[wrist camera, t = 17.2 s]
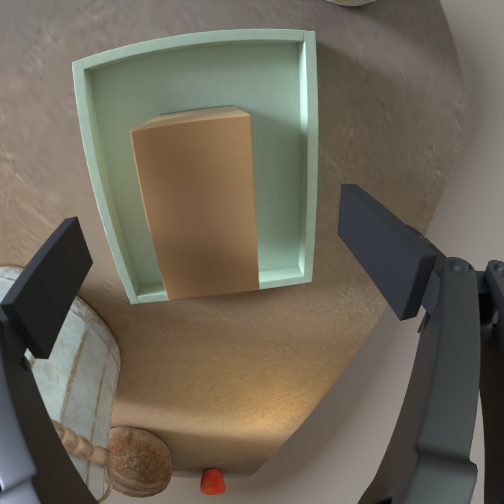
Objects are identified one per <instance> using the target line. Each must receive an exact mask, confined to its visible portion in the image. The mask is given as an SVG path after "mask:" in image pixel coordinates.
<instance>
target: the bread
mask: <svg viewBox="0 0 504 504" xmlns="http://www.w3.org/2000/svg"><path fill="white" fill-rule="evenodd" d="M108 450H110V451H111V452H112V455H113V462H112V464H111V466H110V468H111V471H112V475H113V487H112V489H114V490H116V491H118V492H120V493H122V494H125V495H128V496H130V497H148V496H154V495H156V494H158V493H160V492H162V491H163V490H164V489H166V487H167V485H168V484H169V482H170V479H171V475H172V460H171V455H170V451H169V449H168V447H167V446H166V444H165V443H164V442H163V441H162V440H160V439H159V438H157V437H156V436H154V435H153V434H151V433H149V432H147V431H145V430H142V429H138V428H133V427H125V426H121V427H115V428H112V429H110V432H109V441H108ZM105 482H106V483H107V484H108V485H109V474H108V471H107V469H106V477H105Z"/></svg>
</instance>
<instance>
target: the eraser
mask: <svg viewBox="0 0 504 504" xmlns="http://www.w3.org/2000/svg"><path fill="white" fill-rule="evenodd" d="M130 133H131V140H132V146H133V152H134V158H135V163H136V169H137V174H138V180H139V185H140V190H141V195H142V199H143V204H144V209H145V213H146V218H147V222H148V226H149V231H150V235H151V239H152V243H153V247H154V251H155V255H156V258H157V262H158V266H159V270H160V273H161V277H162V280H163V284H164V287H165V291H166V294H167V298H168V300H177V299H186V298H195V297H204V296H213V295H221V294H230V293H238V292H245V291H253V290H259V267H258V246H257V226H256V206H255V186H254V167H253V148H252V129H251V116H250V115H249V114H248V113H246V112H244V111H243V110H241V109H239V108H238V107H236V106H234V105H228V106H217V107H207V108H199V109H191V110H183V111H177V112H170V113H164V114H160V115H158V116H156V117H154V118H152V119H151V120H149V121H147V122H145V123H143V124H142V125H140V126H138V127H136V128H135V129H133V130H131V132H130Z"/></svg>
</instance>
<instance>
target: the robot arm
mask: <svg viewBox="0 0 504 504" xmlns="http://www.w3.org/2000/svg"><path fill="white" fill-rule="evenodd" d="M338 235H339V236H340V238H341V239H342V240H343V241H344V243H345V244H346V245H347V247H348V248H349V249H350V251H351V252H352V253H353V255H354V256H355V257H356V259H357V260H358V261H359V263H360V264H361V265H362V267H363V268H364V270H365V271H366V272H367V274H368V275H369V276H370V278H371V279H372V281H373V282H374V283H375V285H376V286H377V288H378V289H379V290H380V292H381V293H382V295H383V296H384V298H385V299H386V301H387V302H388V303H389V305H390V306H391V308H392V309H393V311H394V312H395V313H396V315H397V317H398V318H399V320H400V321H402V320H406V319H409V318H413V317H416V316H417V313H418V311H419V308H420V306H421V304H422V306H423V307H424V308H425V309H426V313H425V316H424V317H423V320H422V322H421V325H420V327H419V329H418V331H417V332H418V333H420V331H421V333H420V339H419V343H418V348H417V352H416V358H415V361H414V365H413V369H412V374H411V377H410V381H409V384H408V388H407V392H406V395H405V398H404V402H403V405H402V408H401V411H400V414H399V417H398V420H397V423H396V426H395V429H394V432H393V434H392V437H391V440H390V442H389V445H388V447H387V450H386V452H385V455H384V457H383V460H382V462H381V464H380V467H379V469H378V471H377V473H376V475H375V477H374V479H373V481H372V483H371V484H370V485H369V487H368V488H367V489H366V491H365V492H364V494H363V495H362V497H361V499H360V500H359V502H358V504H470V502H471V498H472V495H473V492H474V488H475V484H476V480H477V472H478V470H477V466H476V464H474V463H473V462H471V461H470V459H469V456H470V449H471V444H472V439H473V433H474V426H475V420H476V413H477V404H478V393H479V390H480V398H481V406H482V415H483V427H484V445H485V477H484V478H485V479H484V504H504V263H503V262H502V261H497V260H491V261H489V263H488V265H487V268H486V270H485V271H475V270H474V268H473V267H472V265H471V264H469V263H468V262H467V261H465V260H462V259H460V258H456V257H449V258H447V257H446V256H445V255H444V254H443V253H442V252H441V251H440V250H438V249H437V248H436V247H435V246H434V245H433V244H432V243H430V241H429V240H428V239H427V238H424V236H423V235H422V234H421V233H420V232H419V231H418V230H416V229H414V228H412V227H410V226H408V225H405V224H404V223H403V222H402V221H401V220H399V219H398V218H397V217H396V216H395V215H394V214H392V213H391V212H390V211H389V210H388V209H386V208H385V207H384V206H383V205H382V204H380V203H379V202H378V201H377V200H375V199H374V198H373V197H372V196H370V195H369V194H368V193H367V192H365V191H364V190H363V189H361V188H360V187H359V186H358V185H356V184H341V200H340V213H339V224H338ZM92 264H93V261H92V258H91V256H90V253H89V250H88V247H87V245H86V242H85V239H84V236H83V233H82V230H81V227H80V224H79V220H78V217H72V218H67V219H65V220H64V221H63V222H62V223H61V224H60V225H59V227H58V228H57V229H56V230H55V231H54V232H53V233H52V235H51V236H50V237H49V238H48V239H47V241H46V242H45V243H44V244H43V245H42V247H41V248H40V249H39V250H38V252H37V253H36V254H35V255H34V257H33V258H32V259H31V261H30V262H29V263H28V264H27V266H26V267H25V268H24V270H23V271H22V272H21V274H20V275H19V277H18V278H17V279H16V281H15V282H14V284H13V285H12V286H11V288H10V289H9V291H8V292H7V294H6V295H5V297H4V298H3V300H2V301H1V303H0V504H100V503H99V502H98V501H97V500H96V499H95V497H94V496H93V495H92V493H91V492H90V490H89V488H88V487H87V485H86V484H85V482H84V481H83V479H82V477H81V476H80V474H79V472H78V471H77V469H76V467H75V466H74V464H73V462H72V460H71V459H70V457H69V455H68V453H67V451H66V449H65V447H64V446H63V444H62V442H61V440H60V438H59V436H58V434H57V431H56V429H55V427H54V425H53V423H52V421H51V418H50V416H49V414H48V412H47V409H46V407H45V404H44V402H43V399H42V397H41V394H40V392H39V389H38V386H37V383H36V381H35V378H34V375H33V372H32V369H31V366H30V363H29V360H28V359H27V357H26V356H25V352H26V350H27V348H28V350H29V351H30V352H31V354H32V355H33V356H34V358H35V359H49V357H50V355H51V352H52V349H53V347H54V344H55V342H56V340H57V337H58V335H59V332H60V330H61V328H62V325H63V323H64V321H65V319H66V316H67V314H68V312H69V310H70V308H71V306H72V303H73V301H74V299H75V297H76V295H77V293H78V291H79V289H80V287H81V285H82V283H83V281H84V279H85V277H86V275H87V273H88V271H89V269H90V268H91V266H92ZM497 313H498V321H497V323H496V321H495V316H496V314H497Z"/></svg>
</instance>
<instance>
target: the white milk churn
mask: <svg viewBox="0 0 504 504" xmlns="http://www.w3.org/2000/svg"><path fill="white" fill-rule="evenodd" d="M23 270H24V268H22V267H17V266H0V303H1V301H2V300H3V298H4V297H5V295H6V294H7V292H8V291H9V289H10V288H11V286H12V285H13V284H14V282H15V281H16V279H17V278H18V277H19V275H20V274H21V272H22V271H23ZM25 356H26V357H27V359H28V360H29V363H30V366H31V369H32V372H33V375H34V378H35V381H36V383H37V386H38V389H39V392H40V394H41V397H42V399H43V402H44V404H45V407H46V409H47V412H48V414H49V416H50V418H51V421H52V423H53V425H54V427H55V429H56V431H57V434H58V436H59V438H60V440H61V442H62V444H63V446H64V447H65V449H66V451H67V453H68V455H69V457H70V459H71V460H72V462H73V464H74V466H75V467H76V469H77V471H78V472H79V474H80V476H81V477H82V479H83V481H84V482H85V484H86V485H87V487H88V488H89V490H90V492H91V493H92V495H93V496H94V497H95V499H96V500H97V501H98V502H99V503H100V504H104V500H106V499H107V497H108V496H109V494H110V492H111V490H112V487H113V475H112V471H111V468H110V466H111V464H112V462H113V455H112V452H111V451H110V450H108V441H109V432H110V423H111V416H112V409H113V402H114V396H115V390H116V386H117V382H118V376H119V372H120V369H121V354H120V350H119V347H118V344H117V342H116V340H115V338H114V336H113V334H112V332H111V331H110V329H109V328H108V327H107V325H106V324H105V323H104V321H103V320H102V319H101V318H100V317H99V316H98V314H97V313H96V312H95V311H94V310H93V309H92V308H91V307H90V306H89V305H87V304H86V303H85V302H84V301H83V300H82V299H81V298H79V297H78V296H77V295H76V297H75V299H74V301H73V303H72V306H71V308H70V310H69V312H68V314H67V316H66V319H65V321H64V323H63V325H62V328H61V330H60V332H59V335H58V337H57V340H56V342H55V344H54V347H53V349H52V352H51V355H50V357H49V359H35V358H34V356H33V355H32V354H31V352H30V351H29V350H28V348H27V350H26V352H25ZM106 469H107V471H108V474H109V486H108V489H107V491H106V493H105V477H106Z"/></svg>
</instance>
